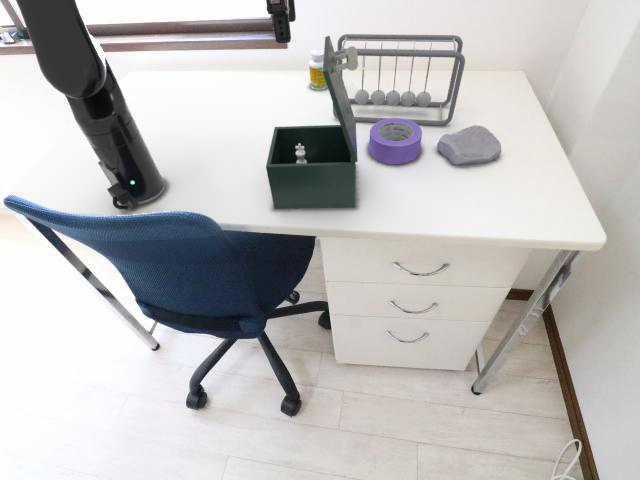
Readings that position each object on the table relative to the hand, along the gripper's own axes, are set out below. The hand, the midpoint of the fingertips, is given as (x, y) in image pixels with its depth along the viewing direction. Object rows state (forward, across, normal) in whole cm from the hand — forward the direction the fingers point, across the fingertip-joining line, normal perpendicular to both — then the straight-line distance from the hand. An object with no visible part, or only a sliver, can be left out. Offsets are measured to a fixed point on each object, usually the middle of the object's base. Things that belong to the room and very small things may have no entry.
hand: (286, 31), depth 58 cm
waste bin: (+31, 0, +2) cm, 31 cm away
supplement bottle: (+32, -46, +2) cm, 56 cm away
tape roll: (+32, -13, +20) cm, 40 cm away
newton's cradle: (+32, -30, +21) cm, 48 cm away
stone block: (+32, -10, +37) cm, 50 cm away
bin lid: (+12, 0, +8) cm, 14 cm away
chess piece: (+31, 0, 0) cm, 31 cm away
